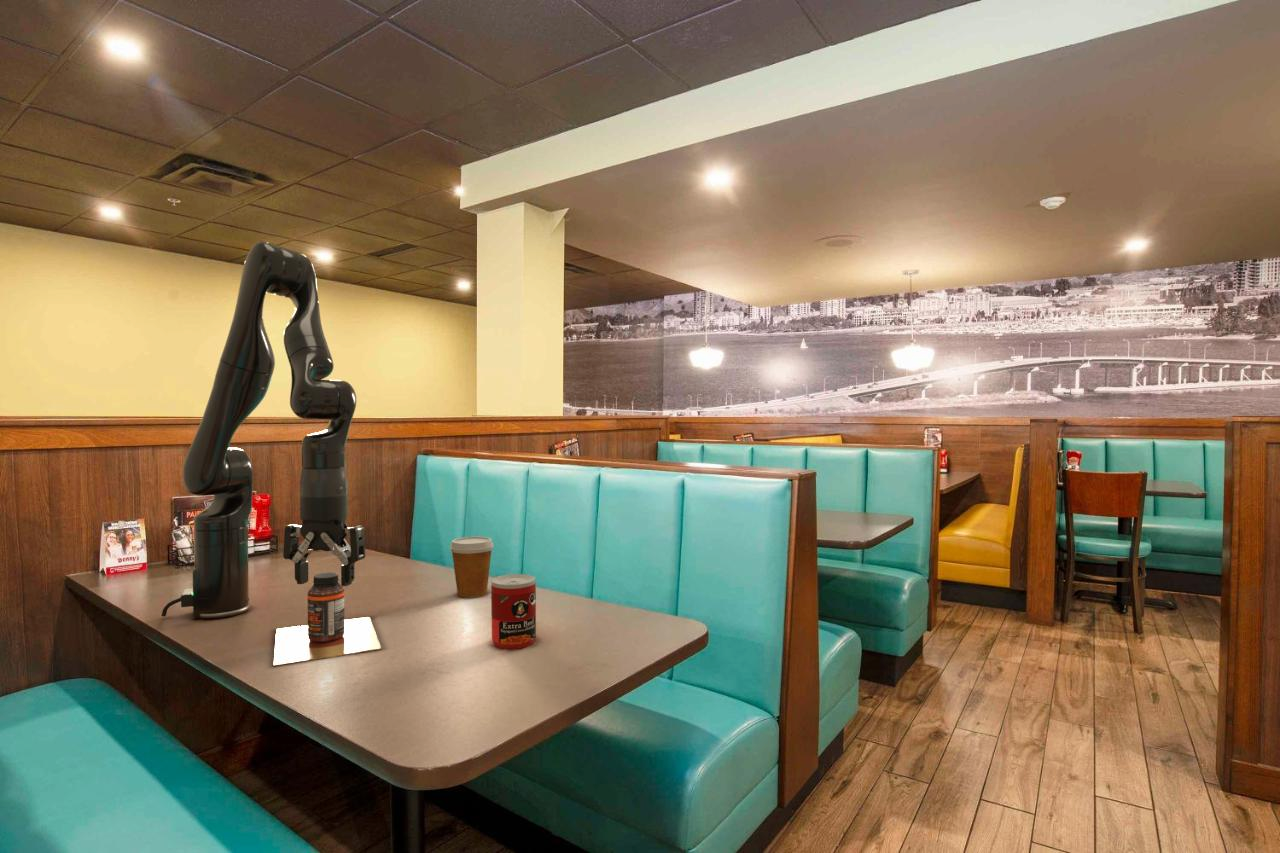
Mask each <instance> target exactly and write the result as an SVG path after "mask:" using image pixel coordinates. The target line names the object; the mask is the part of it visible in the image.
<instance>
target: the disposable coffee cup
mask: <svg viewBox="0 0 1280 853" xmlns="http://www.w3.org/2000/svg"><path fill="white" fill-rule="evenodd" d="M494 546H495V544H494V543H493V541H492V537H491V538H490V537H488V536H487V537H486V536H464V537H459V538H454V539H452V540H451V544H450V545H449V550H450V552H451V557H452V563H453V572H454V578H455V586H456V592H457V596H458V597H459V598H460V597H461V598H469V599H470V598H479V597H482V596H485V595H486V594H487V592H488V584H489V576H490V569H491V560H492V550H494V549H493V548H494Z"/></svg>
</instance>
